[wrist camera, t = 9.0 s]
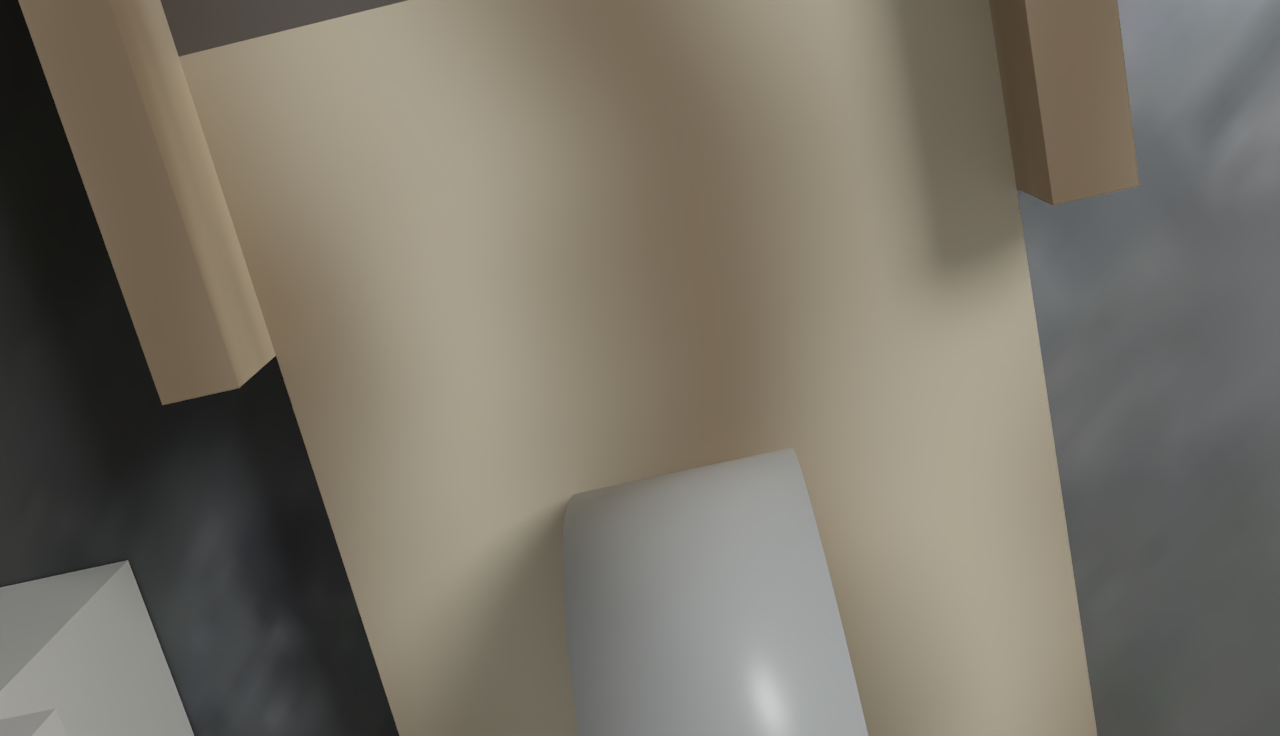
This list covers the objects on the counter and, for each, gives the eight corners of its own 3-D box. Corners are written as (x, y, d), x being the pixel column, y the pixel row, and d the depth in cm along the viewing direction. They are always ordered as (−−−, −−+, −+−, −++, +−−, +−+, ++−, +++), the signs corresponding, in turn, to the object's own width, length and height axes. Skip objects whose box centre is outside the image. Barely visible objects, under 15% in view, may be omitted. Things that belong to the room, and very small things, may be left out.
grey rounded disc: (680, 807, 21) (692, 1192, 14) (581, 425, 19) (540, 652, 12) (855, 774, 20) (955, 1147, 14) (772, 383, 18) (840, 591, 12)
